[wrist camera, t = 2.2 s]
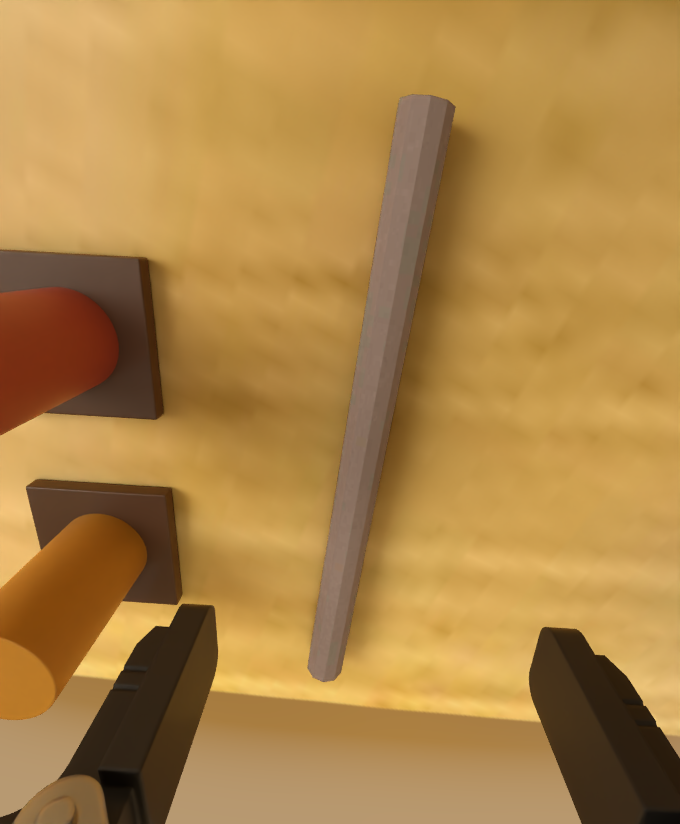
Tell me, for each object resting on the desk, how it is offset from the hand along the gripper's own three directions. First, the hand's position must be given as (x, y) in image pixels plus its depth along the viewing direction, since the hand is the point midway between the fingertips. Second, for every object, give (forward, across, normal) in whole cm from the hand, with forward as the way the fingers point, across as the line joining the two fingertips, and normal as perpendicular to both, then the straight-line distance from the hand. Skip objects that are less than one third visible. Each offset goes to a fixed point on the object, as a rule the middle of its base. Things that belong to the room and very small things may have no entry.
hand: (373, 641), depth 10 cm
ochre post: (+11, +13, +6) cm, 18 cm away
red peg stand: (+11, +13, -5) cm, 18 cm away
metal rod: (+11, 0, 0) cm, 11 cm away
